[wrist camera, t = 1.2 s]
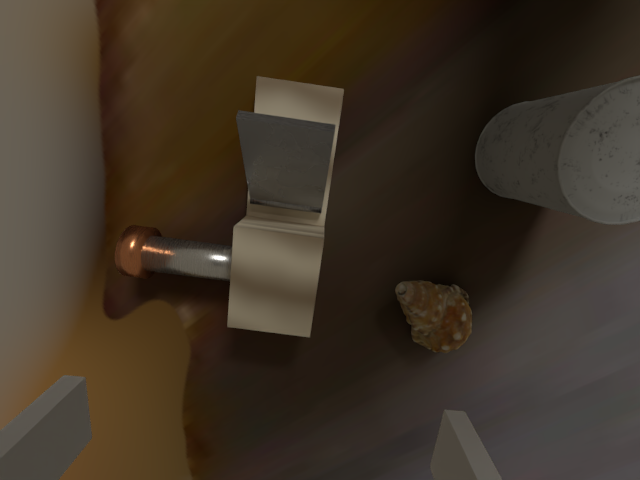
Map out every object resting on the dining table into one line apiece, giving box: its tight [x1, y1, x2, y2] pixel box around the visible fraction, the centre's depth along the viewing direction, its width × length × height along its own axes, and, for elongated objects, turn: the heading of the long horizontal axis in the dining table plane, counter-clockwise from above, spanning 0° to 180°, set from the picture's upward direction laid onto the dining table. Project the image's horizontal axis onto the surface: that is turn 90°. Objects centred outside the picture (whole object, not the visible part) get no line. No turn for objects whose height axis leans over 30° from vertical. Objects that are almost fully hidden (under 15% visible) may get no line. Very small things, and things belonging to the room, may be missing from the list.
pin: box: [115, 225, 232, 281], centre depth 33 cm, size 5×14×5 cm, turn 82°
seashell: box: [395, 280, 472, 353], centre depth 35 cm, size 9×8×10 cm
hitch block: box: [227, 76, 344, 337], centre depth 31 cm, size 23×8×7 cm, turn 172°
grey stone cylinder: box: [475, 75, 640, 225], centre depth 27 cm, size 10×10×12 cm
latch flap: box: [236, 111, 335, 214], centre depth 27 cm, size 11×7×1 cm
